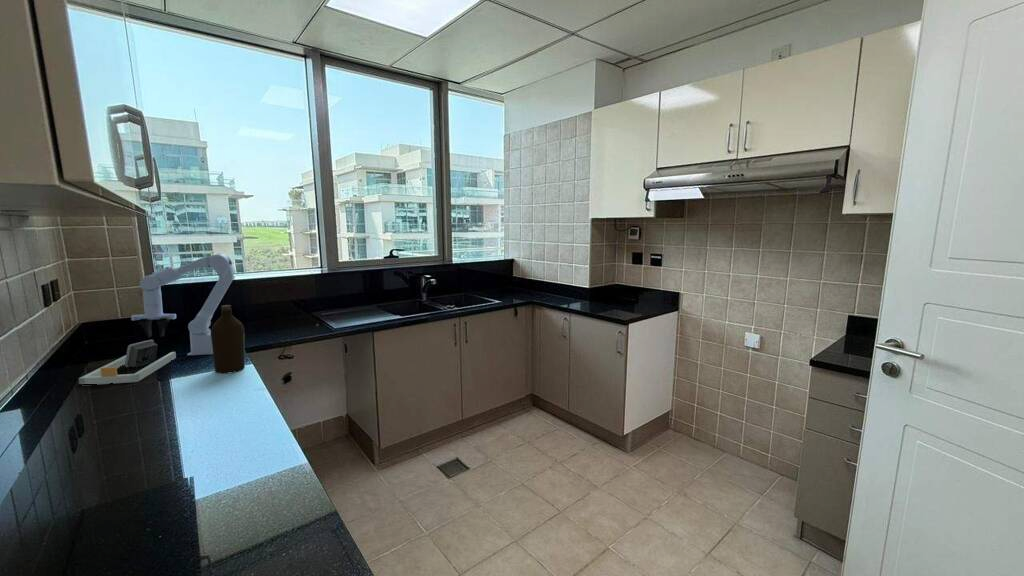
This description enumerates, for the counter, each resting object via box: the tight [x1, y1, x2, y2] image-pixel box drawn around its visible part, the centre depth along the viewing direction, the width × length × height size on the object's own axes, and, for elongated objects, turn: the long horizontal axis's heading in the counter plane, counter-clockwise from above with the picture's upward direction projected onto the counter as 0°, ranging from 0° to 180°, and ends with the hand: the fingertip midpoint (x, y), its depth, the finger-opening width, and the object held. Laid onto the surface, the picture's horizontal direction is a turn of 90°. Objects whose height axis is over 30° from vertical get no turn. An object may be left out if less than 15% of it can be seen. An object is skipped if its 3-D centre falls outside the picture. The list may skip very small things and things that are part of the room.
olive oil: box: [210, 304, 245, 374], centre depth 158 cm, size 11×11×25 cm
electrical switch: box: [124, 339, 159, 368], centre depth 162 cm, size 9×5×9 cm, turn 171°
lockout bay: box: [78, 351, 177, 385], centre depth 156 cm, size 16×29×6 cm, turn 18°
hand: (155, 336), depth 172 cm, fingers open, 4 cm apart
